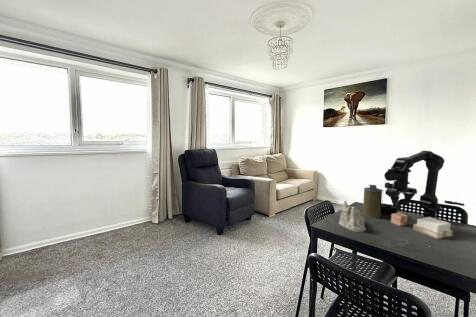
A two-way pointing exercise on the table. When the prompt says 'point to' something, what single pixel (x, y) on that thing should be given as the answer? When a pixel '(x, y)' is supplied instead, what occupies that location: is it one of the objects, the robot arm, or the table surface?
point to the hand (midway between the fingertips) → (400, 205)
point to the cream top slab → (433, 224)
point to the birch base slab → (433, 232)
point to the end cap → (388, 209)
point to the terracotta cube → (399, 219)
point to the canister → (372, 202)
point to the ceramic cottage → (351, 218)
